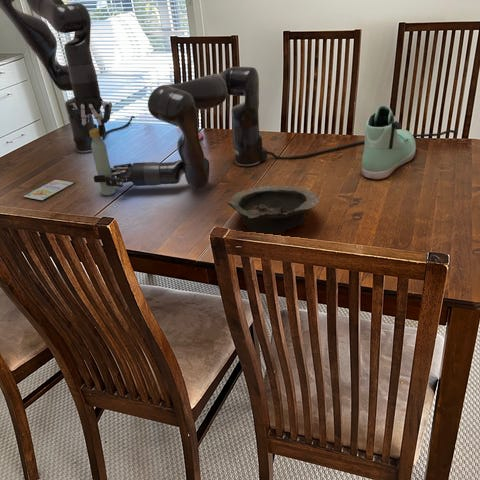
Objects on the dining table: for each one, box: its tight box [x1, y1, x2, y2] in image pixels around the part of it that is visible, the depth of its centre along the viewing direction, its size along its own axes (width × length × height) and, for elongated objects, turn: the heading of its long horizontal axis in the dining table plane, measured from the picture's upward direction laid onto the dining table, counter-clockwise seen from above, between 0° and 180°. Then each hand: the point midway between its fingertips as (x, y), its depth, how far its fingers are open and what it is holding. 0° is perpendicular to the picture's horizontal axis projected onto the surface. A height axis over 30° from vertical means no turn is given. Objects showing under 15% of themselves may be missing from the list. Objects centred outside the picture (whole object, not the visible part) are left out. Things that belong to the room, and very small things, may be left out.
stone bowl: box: [226, 184, 320, 236], centre depth 133 cm, size 25×25×9 cm
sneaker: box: [361, 105, 417, 180], centre depth 160 cm, size 14×34×20 cm, turn 152°
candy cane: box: [198, 132, 204, 141], centre depth 196 cm, size 6×15×2 cm, turn 145°
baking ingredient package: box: [23, 179, 74, 201], centre depth 165 cm, size 9×1×15 cm
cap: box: [89, 127, 100, 138], centre depth 149 cm, size 4×4×2 cm
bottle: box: [91, 137, 116, 196], centre depth 154 cm, size 4×4×21 cm
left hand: (96, 135), depth 149 cm, fingers closed on cap, 3 cm apart
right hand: (97, 175), depth 157 cm, fingers closed on bottle, 4 cm apart
